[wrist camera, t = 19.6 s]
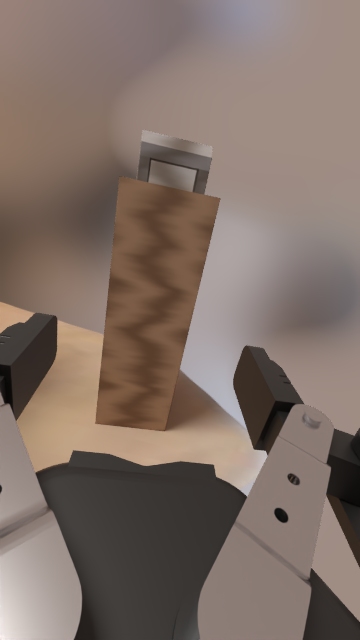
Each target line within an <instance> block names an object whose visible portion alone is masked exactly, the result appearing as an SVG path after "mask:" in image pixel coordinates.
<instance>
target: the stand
mask: <svg viewBox="0 0 360 640" xmlns="http://www.w3.org/2000/svg"><path fill="white" fill-rule="evenodd" d="M212 150H213V147H211V146H207V145H203V144H199V143H194V142H191V141H187V140H183V139H179V138H175V137H170V136H166V135H162V134H158V133H154V132H150V131H146V130H143V131H142V140H141V147H140V156H139V165H138V172H137V180H135V179H130V178H126V177H122V176H120V177H119V188H118V198H117V208H116V218H115V228H114V239H113V249H112V259H111V269H110V279H109V289H108V300H107V311H106V320H105V330H104V340H103V350H102V361H101V371H100V381H99V391H98V401H97V412H96V422H95V423H97V424H106V425H114V426H123V427H132V428H141V429H150V430H159V431H165V427H166V423H167V419H168V415H169V411H170V406H171V402H172V398H173V394H174V390H175V386H176V381H177V377H178V373H179V369H180V365H181V361H182V356H183V352H184V348H185V344H186V340H187V335H188V331H189V327H190V323H191V319H192V315H193V310H194V306H195V302H196V298H197V294H198V290H199V285H200V281H201V277H202V273H203V269H204V265H205V261H206V256H207V252H208V248H209V244H210V240H211V235H212V231H213V227H214V223H215V219H216V215H217V210H218V206H219V202H220V198H217V197H212V196H208V195H204V192H205V188H206V183H207V179H208V174H209V169H210V165H211V160H212V158H211V155H212Z"/></svg>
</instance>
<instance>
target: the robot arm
mask: <svg viewBox="0 0 360 640" xmlns="http://www.w3.org/2000/svg"><path fill="white" fill-rule="evenodd" d="M56 352H57V317H56V316H54V315H47V314H41V313H35V314H34V315H33V316H32V317H31V318H30V319H29V320H28V321H26V322H25V323H20V322H19V323H17V324H14V325H12V326H10V327H7V328H6V329H5V330H4V331H3V332H2V333H0V640H360V622H359V621H358V620H357V619H356V618H355V616H354V615H353V614H352V613H351V612H350V611H349V610H348V609H347V607H346V606H345V605H344V604H343V603H342V602H341V601H340V600H339V598H338V597H337V596H336V595H335V594H334V593H333V592H332V591H331V589H330V588H329V587H328V586H327V585H326V584H325V583H324V582H323V581H322V579H321V578H320V577H319V576H318V575H317V574H316V573H315V571H314V570H313V569H312V568H311V566H312V561H313V556H314V551H315V546H316V541H317V536H318V531H319V526H320V521H321V516H322V511H323V507H324V502H325V497H326V496H327V498H328V500H329V502H330V504H331V506H332V509H333V511H334V513H335V515H336V517H337V519H338V522H339V524H340V526H341V528H342V530H343V533H344V535H345V537H346V539H347V541H348V544H349V546H350V548H351V550H352V552H353V554H354V557H355V559H356V561H357V563H358V565H359V567H360V428H359V430H358V431H357V433H356V434H355V436H353V435H350V434H348V433H345V432H342V431H339V430H337V429H334V426H333V424H332V422H331V421H330V419H329V418H328V417H327V416H326V415H325V414H323V413H322V412H321V411H319V410H317V409H316V408H313V407H311V406H308V405H305V404H304V403H303V401H302V400H301V398H300V396H299V395H298V393H297V392H296V390H295V389H294V387H293V385H292V384H291V382H290V380H289V379H288V378H287V376H286V374H285V373H284V371H283V369H282V368H281V367H280V366H279V365H277V364H276V363H275V362H274V361H272V360H270V359H269V357H268V355H267V353H266V352H265V350H264V349H263V348H259V347H253V346H245V347H244V349H243V351H242V354H241V357H240V360H239V362H238V365H237V368H236V371H235V374H234V379H233V385H234V390H235V393H236V396H237V399H238V402H239V405H240V408H241V411H242V414H243V417H244V420H245V424H246V427H247V430H248V433H249V436H250V439H251V442H252V445H253V448H254V449H255V450H264V451H266V452H267V455H268V457H267V459H266V461H265V463H264V465H263V467H262V469H261V471H260V473H259V475H258V477H257V479H256V481H255V483H254V485H253V487H252V489H251V491H250V493H249V495H248V497H247V496H246V495H245V494H244V493H242V492H241V491H240V490H239V489H237V488H236V487H234V486H233V485H231V484H230V483H228V482H226V481H224V480H222V479H220V478H217V477H216V475H215V469H214V465H211V464H201V463H191V462H182V461H180V462H173V463H166V464H159V465H152V466H142V465H139V464H136V463H133V462H131V461H128V460H125V459H122V458H119V457H116V456H113V455H110V454H103V453H93V452H84V451H74V450H73V452H72V455H71V458H70V461H69V462H68V463H62V464H58V465H54V466H51V467H48V468H45V469H43V470H40V471H38V472H36V473H35V471H34V469H33V466H32V463H31V461H30V458H29V455H28V452H27V450H26V447H25V444H24V442H23V439H22V436H21V434H20V431H19V428H18V425H17V423H16V420H17V419H18V417H19V416H20V414H21V413H22V411H23V410H24V408H25V406H26V405H27V403H28V402H29V400H30V399H31V397H32V396H33V394H34V392H35V391H36V389H37V388H38V386H39V385H40V383H41V381H42V380H43V378H44V377H45V375H46V374H47V372H48V371H49V369H50V367H51V366H52V364H53V362H54V360H55V357H56Z"/></svg>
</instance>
